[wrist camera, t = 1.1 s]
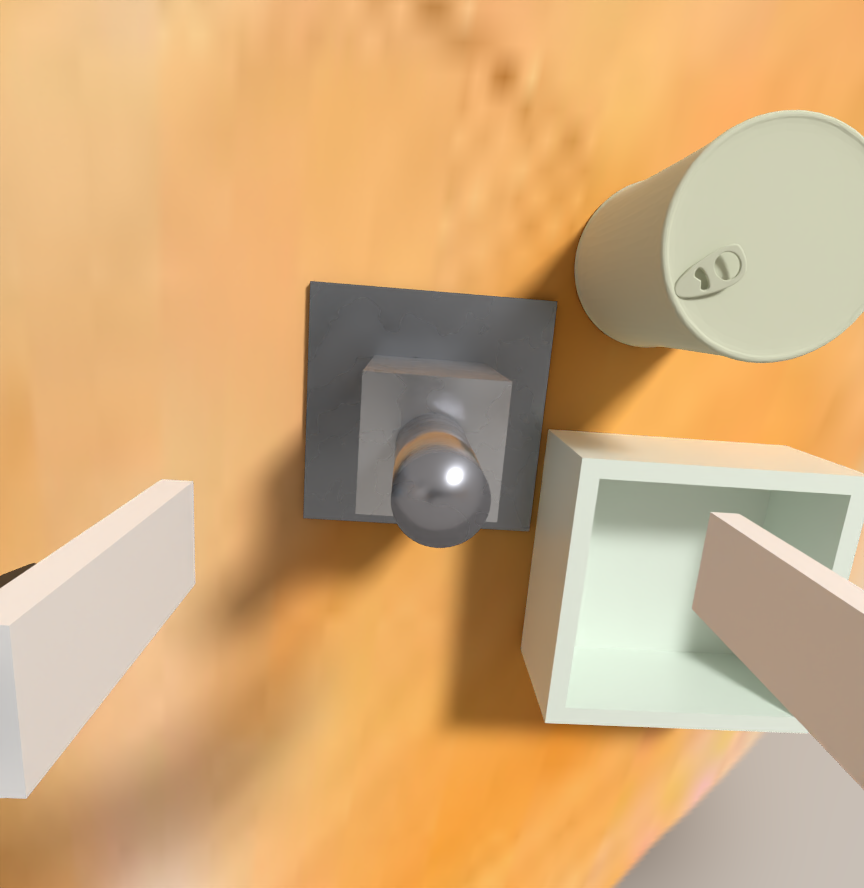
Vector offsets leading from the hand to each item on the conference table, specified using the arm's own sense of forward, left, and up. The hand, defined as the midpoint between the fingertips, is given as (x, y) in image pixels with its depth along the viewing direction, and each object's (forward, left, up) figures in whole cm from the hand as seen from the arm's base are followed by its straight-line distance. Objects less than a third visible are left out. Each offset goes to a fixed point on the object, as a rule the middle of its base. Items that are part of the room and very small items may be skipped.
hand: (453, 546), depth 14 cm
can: (+12, +9, -20) cm, 26 cm away
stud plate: (0, 0, -20) cm, 20 cm away
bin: (+15, -8, -20) cm, 26 cm away
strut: (0, 0, -20) cm, 20 cm away
